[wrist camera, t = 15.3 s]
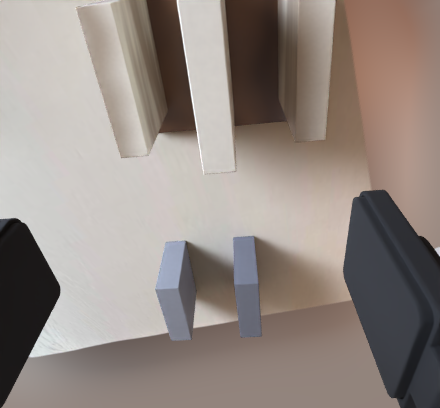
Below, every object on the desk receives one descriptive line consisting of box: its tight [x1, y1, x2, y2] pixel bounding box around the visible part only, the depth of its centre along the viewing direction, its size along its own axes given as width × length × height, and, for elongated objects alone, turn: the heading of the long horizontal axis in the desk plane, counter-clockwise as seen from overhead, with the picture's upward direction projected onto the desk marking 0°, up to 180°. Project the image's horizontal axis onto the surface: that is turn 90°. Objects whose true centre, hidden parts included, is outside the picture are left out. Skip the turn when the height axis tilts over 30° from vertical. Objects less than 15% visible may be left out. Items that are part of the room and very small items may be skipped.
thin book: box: [177, 0, 236, 174], centre depth 27 cm, size 2×11×15 cm, turn 6°
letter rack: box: [76, 0, 336, 158], centre depth 30 cm, size 17×16×12 cm
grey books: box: [155, 236, 262, 341], centre depth 49 cm, size 13×11×9 cm
